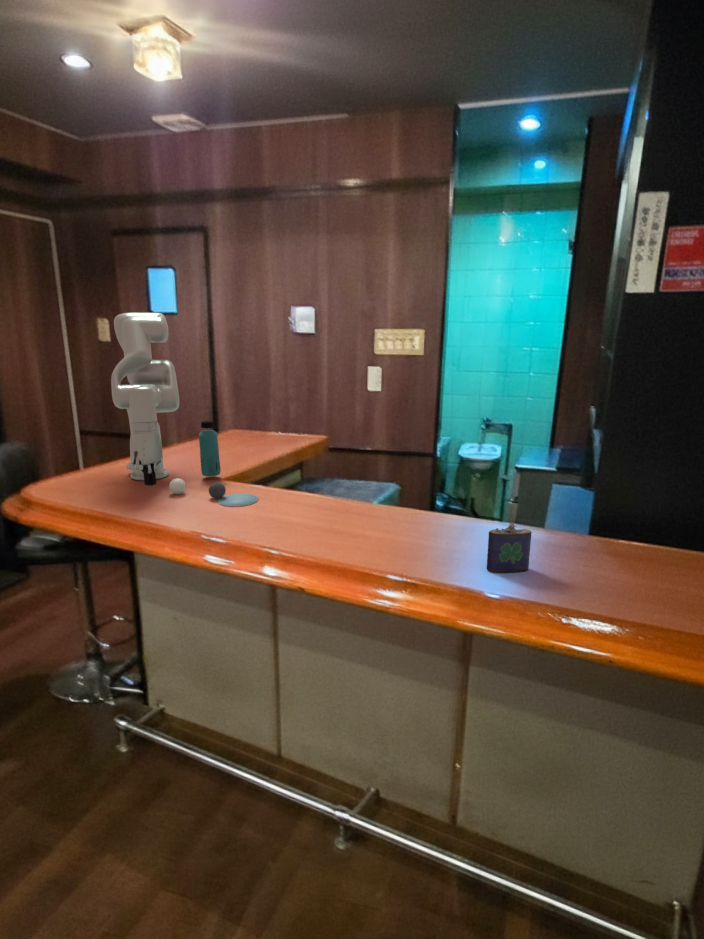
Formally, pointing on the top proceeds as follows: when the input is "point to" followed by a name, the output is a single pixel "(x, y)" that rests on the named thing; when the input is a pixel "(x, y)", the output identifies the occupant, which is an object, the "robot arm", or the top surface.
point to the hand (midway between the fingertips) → (150, 484)
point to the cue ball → (177, 486)
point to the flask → (508, 550)
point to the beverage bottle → (209, 450)
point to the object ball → (217, 490)
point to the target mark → (238, 500)
